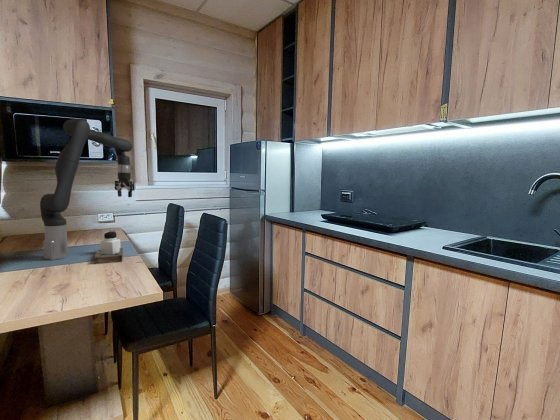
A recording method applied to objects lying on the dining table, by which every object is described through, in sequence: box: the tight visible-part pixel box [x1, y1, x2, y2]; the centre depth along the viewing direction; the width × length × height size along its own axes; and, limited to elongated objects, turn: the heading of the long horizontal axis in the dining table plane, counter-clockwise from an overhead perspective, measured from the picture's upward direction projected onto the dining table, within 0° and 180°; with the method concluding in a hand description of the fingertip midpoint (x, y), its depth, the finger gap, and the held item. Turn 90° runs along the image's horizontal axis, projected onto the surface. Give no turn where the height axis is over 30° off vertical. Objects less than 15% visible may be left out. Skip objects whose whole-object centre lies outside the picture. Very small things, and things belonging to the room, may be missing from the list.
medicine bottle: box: [99, 230, 121, 255], centre depth 166 cm, size 7×7×12 cm
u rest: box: [93, 247, 124, 265], centre depth 156 cm, size 18×12×3 cm, turn 26°
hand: (124, 196), depth 194 cm, fingers open, 8 cm apart
